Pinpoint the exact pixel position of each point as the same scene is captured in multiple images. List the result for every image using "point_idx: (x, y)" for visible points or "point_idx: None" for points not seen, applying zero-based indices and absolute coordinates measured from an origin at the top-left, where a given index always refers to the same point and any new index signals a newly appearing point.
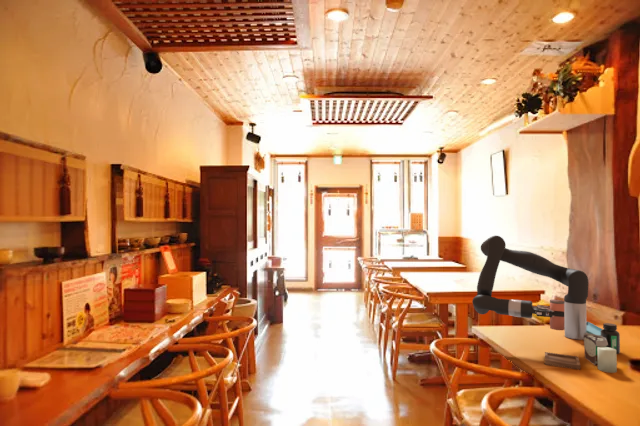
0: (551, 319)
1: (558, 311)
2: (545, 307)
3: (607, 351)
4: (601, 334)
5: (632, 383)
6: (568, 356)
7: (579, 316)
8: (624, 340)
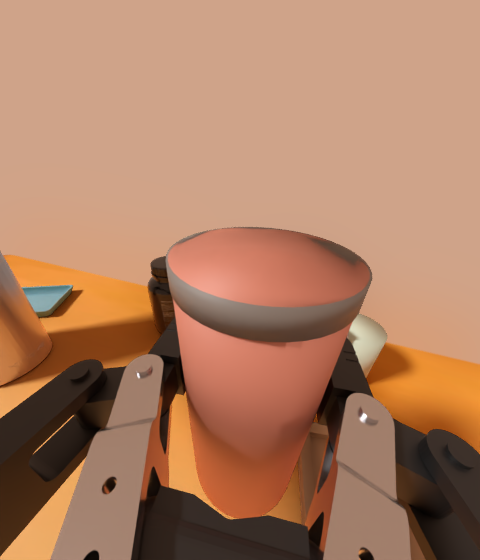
0: (281, 474)
1: (341, 354)
2: (145, 492)
3: (384, 331)
4: (168, 300)
5: (406, 349)
6: (312, 462)
7: (7, 290)
8: (91, 284)
